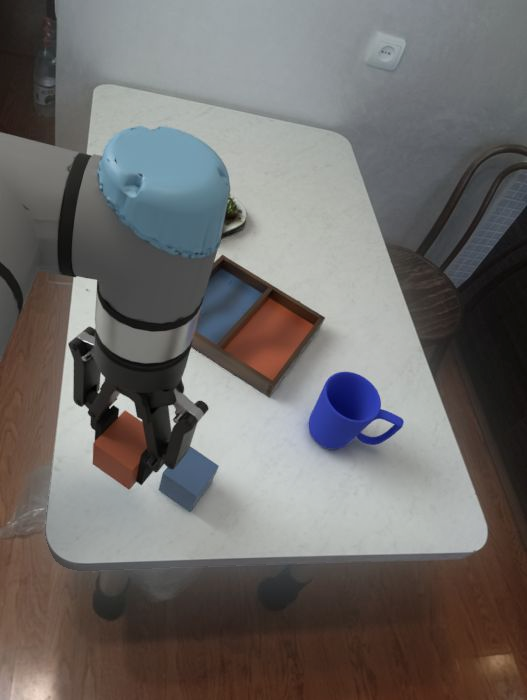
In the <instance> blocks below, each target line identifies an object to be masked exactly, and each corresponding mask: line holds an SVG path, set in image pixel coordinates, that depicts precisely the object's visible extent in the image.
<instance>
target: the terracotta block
mask: <svg viewBox="0 0 527 700" xmlns="http://www.w3.org/2000/svg"><path fill="white" fill-rule="evenodd" d="M146 449H147V445H146V439H145V434H144V428H143V423H142V420H141V419H140V418H138V417H137V416H134V415H133V414H131V413H130V412H129V411H127V410H124V411H123V412H122V413H121V414H119V415H118V418H117V419H116V420H115V421H114V422H113V423H112V424H111V425H110V426H109V428H108V429H107V430H106V431H105V432H104V433H103V434H102V435H101V436H100V437H99V438H98V439H97V440H96V441H95V440H94V442H93V444H92V465H93V466H94V467H96V468H97V469H99V470H100V471H101V472H103V473H104V474H106V475H107V476H109V477H110V478H111V479H113V480H114V481H115V482H116V483H118V484H120V485H121V486H122V487H124V488H125V489H127V490H128V491H130V490H131V489H132V487H133V486H134V485H135V484H136V483H137V482H136V479H137V474H138V468H139V463H140V458H141V454H142V453H143V452H144V451H145V450H146Z"/></svg>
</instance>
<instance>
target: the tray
mask: <svg viewBox="0 0 527 700" xmlns="http://www.w3.org/2000/svg"><path fill="white" fill-rule="evenodd" d="M325 319H326V317H325V316H324V315H322V314H320V313H319V312H317V311H315V310H313V309H312V308H310V307H309V306H307V305H305V304H304V303H302V302H301V301H299V300H297V299H296V298H294V297H292V296H291V295H289V294H287V293H286V292H284V291H283V290H282V289H279V288H277V287H276V286H274V285H273V284H271V283H270V282H267V281H266V280H265V279H263V278H261V277H260V276H258V275H256V274H255V273H253V272H252V271H250V270H249V269H247V268H245V267H243V266H242V265H240V264H239V263H237V262H235V261H234V260H232V259H230V258H229V257H227V256H225V255H224V254H221V255H220V256H219V257H218V258H217V259H215V261H214V264H213V267H212V271H211V274H210V278H209V281H208V285H207V288H206V292H205V295H204V299H203V302H202V306H201V310H200V314H199V318H198V322H197V326H196V329H195V333H194V337H193V339H192V345H191V349H192V348H193V350H196V351H197V352H198V353H200V354H202V355H203V356H205V357H206V358H207V359H210V360H211V362H214V363H216V364H217V365H218V366H220V367H222V368H223V369H225V370H226V371H228V372H229V373H231V374H233V376H236V377H237V378H239V379H240V380H241V381H243V382H245V383H246V384H248V385H250V386H251V387H252V388H254V389H256V390H257V391H258V392H260V393H262V394H264V395H265V396H266V397H268V398H270V397H271V396H272V394H273V393H274V392H275V391H276V389H277V388H278V387H279V385H280V384H281V383H282V381H283V379H284V378H285V377H286V375H287V374H288V373H289V371H290V370H291V369H292V367H293V366H294V364H295V363H296V362H297V361H298V359H299V358H300V356H301V355H302V353H303V352H304V351H305V349H306V348H307V346H308V345H309V344H310V342H311V341H312V340H313V339H314V337H315V336H316V334H317V333H318V331H319V330H320V329H321V327H322V325H323V323H324V321H325Z"/></svg>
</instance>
